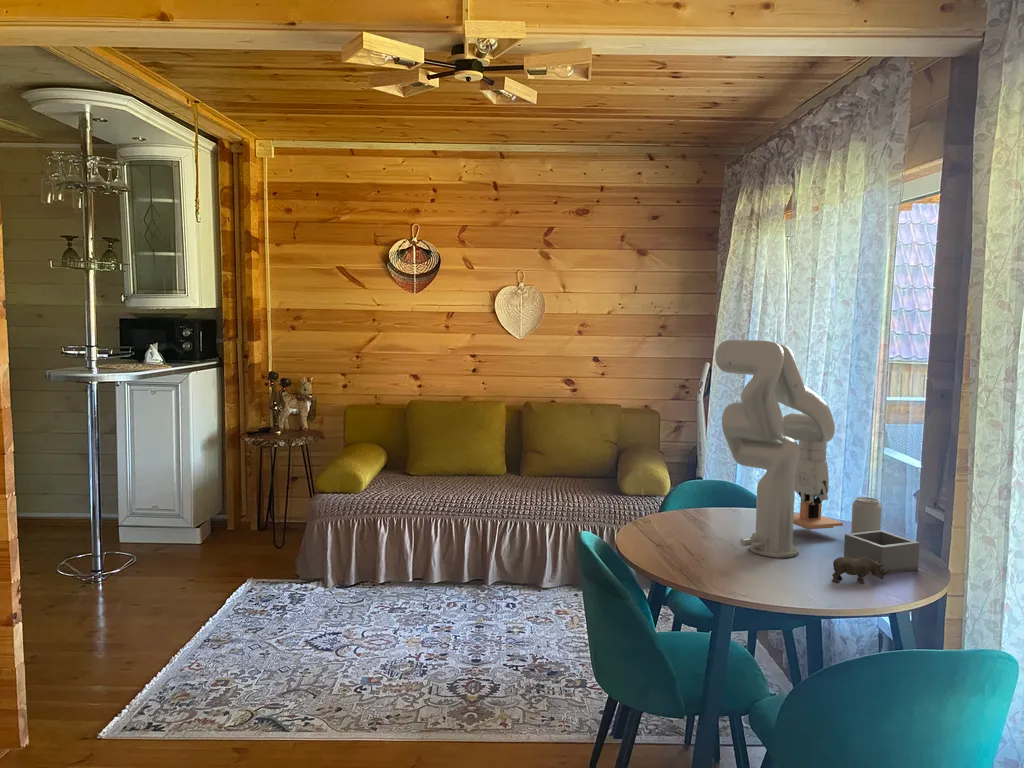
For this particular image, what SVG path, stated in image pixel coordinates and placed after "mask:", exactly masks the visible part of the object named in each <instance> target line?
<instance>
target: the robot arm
mask: <svg viewBox="0 0 1024 768" xmlns="http://www.w3.org/2000/svg"><path fill="white" fill-rule="evenodd" d="M714 358H715V363H716V366H717V367H718V369H719V370H721V371H722V372H723V373H727V374H729V373H730V374H736V375H748V376H749V375H750V376H752V378H751V379H750V380H749V381H748V382H747V383H746V385H745V386H744V387H743V389H742V391H741V392H740V400H741V402H739V401H738V402H733V403H730V404H728V405H727V406H725V408H724V410H723V411H722V412H723V413H722V416H721V428H722V432H723V435H724V438H725V440H726V443H727V445H728V447H729V450H730V452H731V455H732V457H733V459H734V461H735V463H737V464H738V465H741V466H744V467H749V468H757V469H762V470H766V472H765V473H764V474H763V476H762V477H761V478H760V479H759V480H758V483H757V487H756V507H755V508H756V509H755V510H756V512H755V532H754V533H753V532H752V534H751V537H750V538H741V539H740V541H739V542H740V545H741V547H746V546H749V547H748V549H749V550H750V551H751V552H752V553H754V554H757V555H758V556H759V555H760V556H764V557H770V558H777V559H778V558H782V559H783V558H785V559H786V558H787V559H788V558H793V557H796V556H798V555H799V551H800V550H799V548H798V546H796V545H794V544H793V543H794V542H793V540H794V524H793V519H794V513H795V492H796V493H797V495H799V498H800V502H801V501H810V504H811V505H809V518H810V519H811V518H818V517H819V505H820V504H821V502H822V503H823V501H827V500H828V499H829V497H828V493H829V487H830V485H829V484H830V483H829V481H830V479H829V467H828V461H827V447H828V446H827V445H828V444H827V443H829V442H830V441H831V440H832V439H833V438H834V436H835V430H836V429H835V428H836V427H835V425H836V424H835V422H834V421H835V420H834V417H833V414H832V411H831V409H830V407H829V405H828V403H827V402H826V401H825V400H824V399H823V398H822V397H821V396H819V395H818V394H817V392H815V391H813V390H812V389H810V388H809V387H807V386H806V385H805V384H804V381H803V378H802V376H801V373H800V370H799V366H798V364H797V361H796V358H795V355H794V352H793V351H792V349H791V348H790V347H788V346H786V345H784V344H778V343H777V342H774V341H769V340H753V339H752V340H750V339H748V340H746V339H743V340H742V339H739V340H738V339H728V340H727V339H726V340H724V341H722V342H721V343H719V344H718V346H717V348H716V350H715V355H714ZM780 404H782V405H783V406H786V407H788V408H790V409H792V410H796V411H799V413H794V412H793V413H789V414H785V415H784V416H783V413H782V410H781V407H780ZM800 412H801V413H800ZM797 441H798V442H797Z"/></svg>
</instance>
